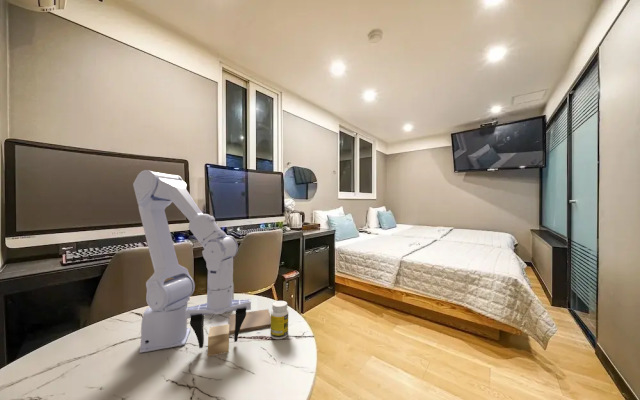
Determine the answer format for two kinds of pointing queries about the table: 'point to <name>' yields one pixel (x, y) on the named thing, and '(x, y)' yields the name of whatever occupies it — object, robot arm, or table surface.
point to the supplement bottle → (279, 320)
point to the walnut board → (251, 321)
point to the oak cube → (218, 340)
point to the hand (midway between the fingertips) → (219, 342)
